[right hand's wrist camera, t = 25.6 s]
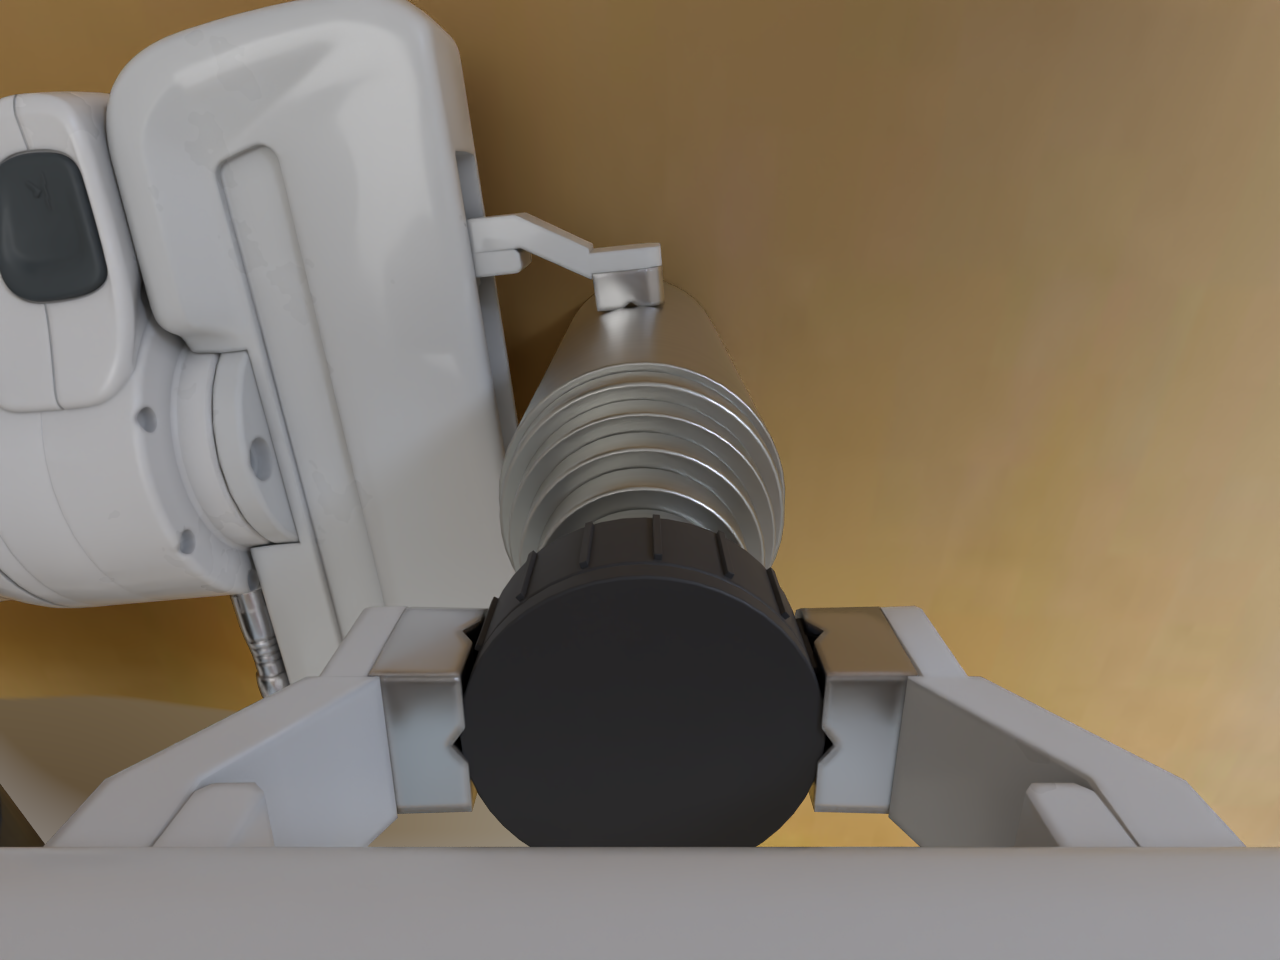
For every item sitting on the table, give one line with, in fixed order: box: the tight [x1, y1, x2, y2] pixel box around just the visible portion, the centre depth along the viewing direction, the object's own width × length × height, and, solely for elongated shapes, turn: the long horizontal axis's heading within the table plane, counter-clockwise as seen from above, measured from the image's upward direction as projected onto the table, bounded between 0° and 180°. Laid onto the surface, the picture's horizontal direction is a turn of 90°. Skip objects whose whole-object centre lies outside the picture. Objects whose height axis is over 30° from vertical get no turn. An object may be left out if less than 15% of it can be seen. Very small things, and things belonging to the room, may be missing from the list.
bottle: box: [499, 282, 785, 573], centre depth 18 cm, size 5×5×19 cm
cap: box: [460, 514, 826, 847], centre depth 9 cm, size 4×4×2 cm
